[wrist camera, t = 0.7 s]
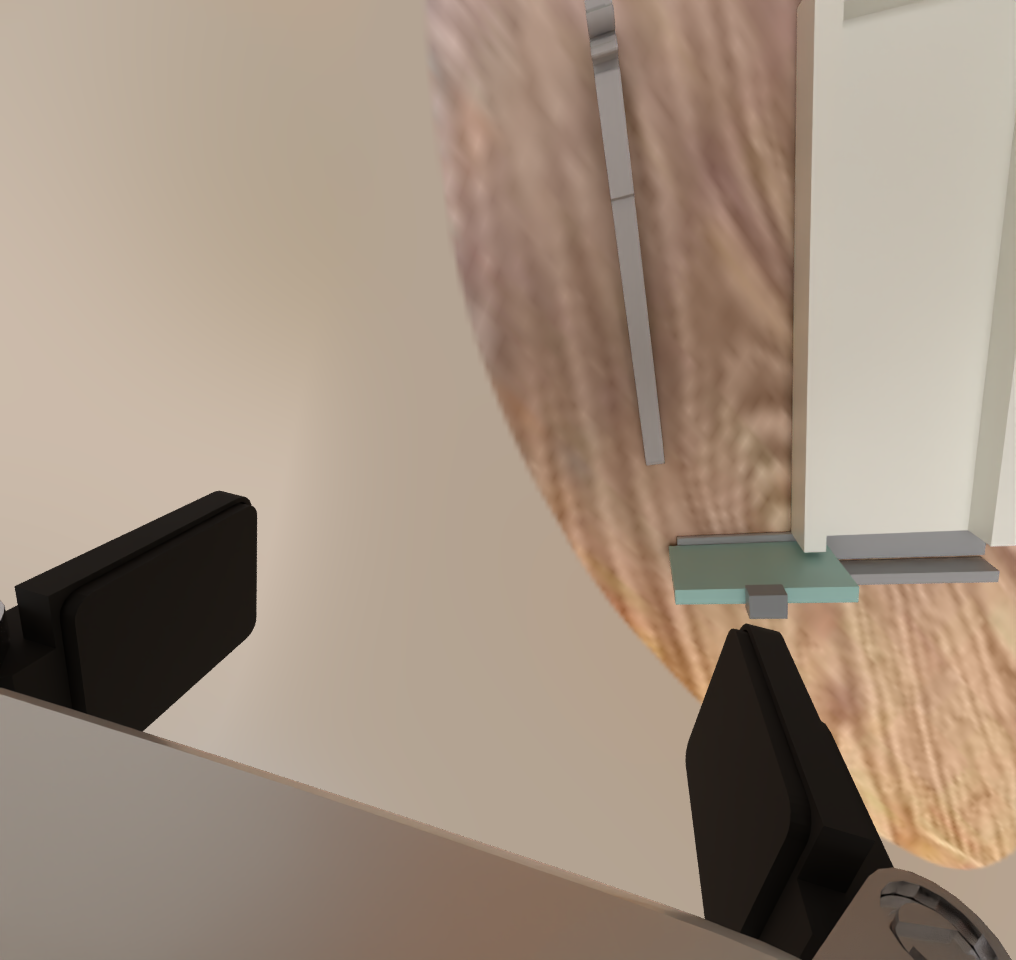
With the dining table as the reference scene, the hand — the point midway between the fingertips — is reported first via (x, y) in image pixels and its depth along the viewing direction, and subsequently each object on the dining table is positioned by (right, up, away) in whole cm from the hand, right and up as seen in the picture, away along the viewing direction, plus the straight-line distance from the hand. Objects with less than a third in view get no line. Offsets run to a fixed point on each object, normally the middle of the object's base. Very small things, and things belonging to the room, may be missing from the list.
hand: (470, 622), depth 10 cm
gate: (+14, -1, +20) cm, 24 cm away
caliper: (+7, +13, +18) cm, 23 cm away
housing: (+16, +10, +16) cm, 25 cm away
